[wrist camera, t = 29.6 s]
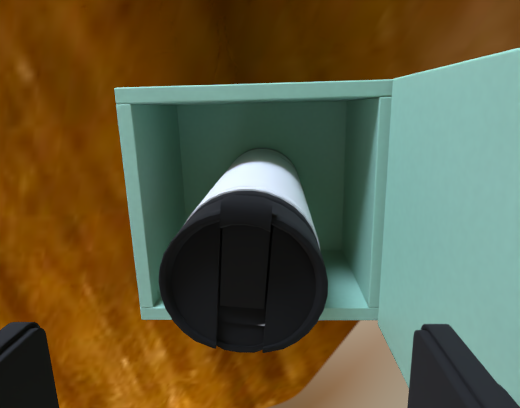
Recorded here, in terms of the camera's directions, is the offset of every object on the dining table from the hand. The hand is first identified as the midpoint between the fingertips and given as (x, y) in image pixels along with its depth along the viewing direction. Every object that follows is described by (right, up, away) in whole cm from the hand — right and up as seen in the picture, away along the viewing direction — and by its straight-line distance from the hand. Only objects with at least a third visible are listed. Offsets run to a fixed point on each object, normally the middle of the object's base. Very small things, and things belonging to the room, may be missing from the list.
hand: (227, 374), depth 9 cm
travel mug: (+1, +6, +23) cm, 24 cm away
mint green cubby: (+1, +7, +24) cm, 25 cm away
